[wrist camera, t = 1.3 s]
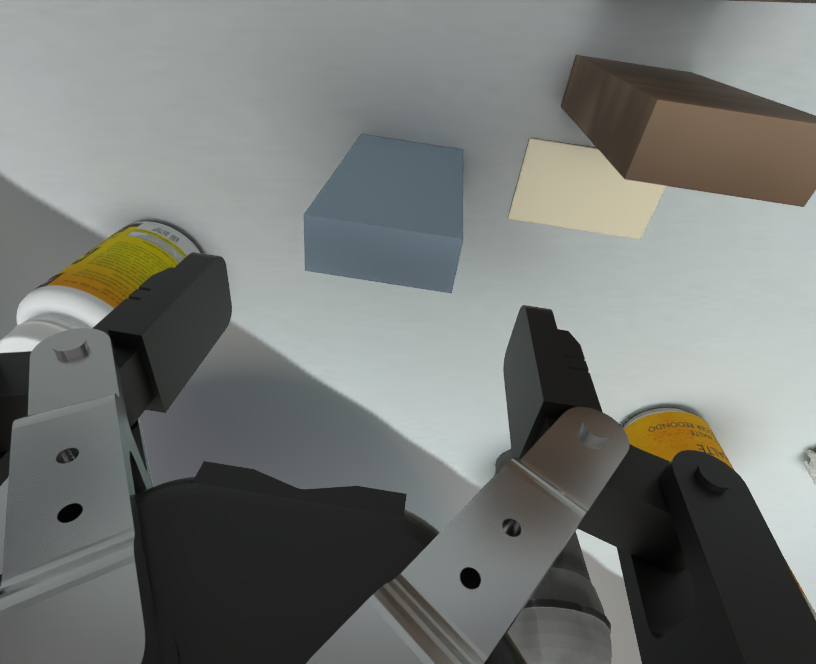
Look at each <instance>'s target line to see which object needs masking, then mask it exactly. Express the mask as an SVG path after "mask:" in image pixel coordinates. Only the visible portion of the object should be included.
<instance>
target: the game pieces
mask: <svg viewBox="0 0 816 664" xmlns="http://www.w3.org/2000/svg"><path fill="white" fill-rule="evenodd" d="M807 455H808V456H809V457H810V459H811V460H810V463H809V465H808V463H807V461H805V462H804V466H805V468H806V470H807V472H808V474H809V476H810V477H811V478H812V479H813V481H814V484H816V453H815V452H813V451H812V450H810V449H808V450H807Z"/></svg>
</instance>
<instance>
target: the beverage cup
mask: <svg viewBox="0 0 816 664" xmlns="http://www.w3.org/2000/svg"><path fill="white" fill-rule="evenodd" d="M511 459H512V449H511V450H508V451H507V452H505V453H503V454H502V455H501V456H500V457H499V458H498V459H497V462H496V472H495V475H496V474H497V473H498V472H499V471H500V470H501V469H502V468H503V466H504V465H505V464H506V463H507V462H508V461H510V460H511ZM610 628H611V624H610V622H609V621H608V619H607V618H606V616H605V614H604V610H603V607H602V605H601V602H600V600H599V597H598V595H597V592H596V590H595V588H594V586H593V585H592V583H591V581H590V577H589V574H588V571H587V568H586V564H585V561H584V558H583V554H582V551H581V548H580V544H579V541H578V538H577V535H576V531H575V532H574V534H573V535H572V537H571V538H570V540H569V541H568V543H567V544H566V546H565V547H564V549H563V550H562V552H561V553H560V555H559V556H558V558H557V559H556V561H555V562H554V564H553V565H552V566H551V568H550V569H549V571H548V572H547V574H546V575H545V577H544V578H543V580H542V581H541V583H540V584H539V586H538V587H537V589H536V590H535V592H534V593H533V595H532V596H531V598H530V599H529V601H528V602H527V604H526V605H525V607H524V608H523V610H522V611H521V613H520V614H519V616H518V617H517V619H516V620H515V622H514V623H513V625H512V626H511V628H510V629H509V631H508V634H509V635H510V637H511V638H512V640H513V642H514V643H515V645H516V646H517V648H518V649H519V651H520V653H521V654H522V656H523V657H524V659H525V660H526V662H527V664H611V656H612V652H611V639H610V631H611V629H610Z"/></svg>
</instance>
